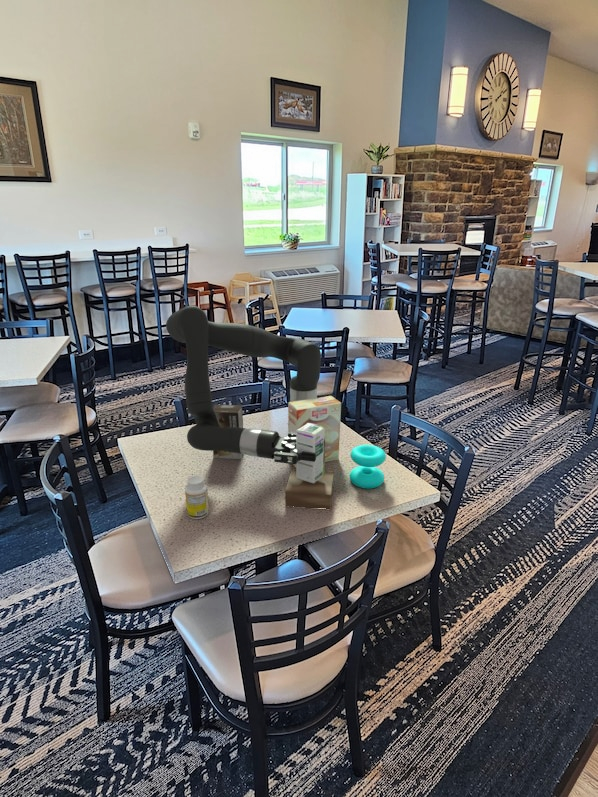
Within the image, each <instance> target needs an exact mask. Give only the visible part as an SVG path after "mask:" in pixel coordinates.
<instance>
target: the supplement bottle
mask: <svg viewBox="0 0 598 797" xmlns="http://www.w3.org/2000/svg"><path fill="white" fill-rule="evenodd" d="M186 480H187V483H186V484H187V485H186V486H185V488H184V492H185V493H184V494H185V502H186V503H185V504H186V511H187V512H186V514H187V516H188V517H189V518H190V519H193V520H201V519H203V518H206V517H207V516H208V515H209V513H210V509H209V508H210V506H209V495H208V493H209V492H208V485H207V484H206V483H205V480H204V478H203V477H202V476H200V475H194V476H190V477H188V479H186Z"/></svg>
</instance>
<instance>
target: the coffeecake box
mask: <svg viewBox="0 0 598 797" xmlns="http://www.w3.org/2000/svg"><path fill="white" fill-rule="evenodd" d="M287 403H288V404H287V409H288V410H287V412H288V414H287V415H288V416H287V417H288V418H287V419H288V420H287V421H288V422H287V433H288V432H294V433H296V430H298V429H299V428H301V427H302V426H304V425H306V424H307V423H312V424H317V425H320V426H323V427H325V463H327V462H328V463H329V462H331V461H332V462H333V461H337V460H339V459H340V456H339V455H340V436H341V434H340V433H341V415H342V414H341V412H342V402H341V401H339V400H338V399H336V398H335V397H334V396H332V395H328V396H321V397H317V398H313V399H307V400H300V401H294V402H290V401H289V402H287ZM288 460H291V459H289V458H288ZM292 466H293V467H294V468H296V464H292Z"/></svg>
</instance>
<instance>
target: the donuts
mask: <svg viewBox="0 0 598 797" xmlns="http://www.w3.org/2000/svg"><path fill="white" fill-rule="evenodd" d="M350 458H351V460H352V461H353V462H354V463H355V464H356V465H358V466H355V467H353V469H352V470H351V471H350V473H349V480H350V482H351V483H352V484H353V485H355V486H356V487H358V488H362V489H368V490H369V489H375V488H378V487H380V486H382V485H383V483H384V481H385V474H384V472H383V471H382V470H381V469H380V468H378V466H381V465H382V464H383V463H384V462H385V461H386V458H387V453H386V452H385V450H384V449H382V448H381V447H379V446H377V445H373V444H359V445H357V446H355V447H353V448H352V450H351V451H350Z"/></svg>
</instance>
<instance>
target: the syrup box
mask: <svg viewBox="0 0 598 797" xmlns="http://www.w3.org/2000/svg"><path fill="white" fill-rule="evenodd" d="M296 449H297V450H299V451H301V453H302V451H304V452H311V453H315V454H316V460H315V462H312V461H305V460H301V461H297V464H296V467H295V468H296V477H297V478H299V479H301V480H304V481H307V482H310V483H315V482H316V481H317V480H318V479H320V478H321V477H322V476H323V475H324V471H325V466H326V464H325V463H326V462H325V427H323V426H320V425H317V424H312V423H307V424H306V425H304V426H302V427H301V428H299V429H298V430H296Z"/></svg>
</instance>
